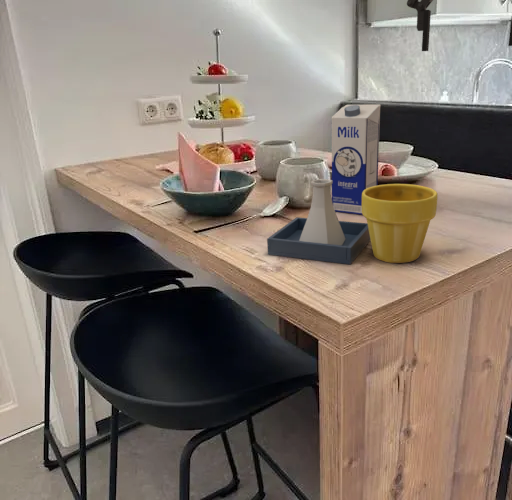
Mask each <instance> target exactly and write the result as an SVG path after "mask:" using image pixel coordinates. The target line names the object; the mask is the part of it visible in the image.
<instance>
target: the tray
mask: <svg viewBox="0 0 512 500" xmlns="http://www.w3.org/2000/svg"><path fill="white" fill-rule="evenodd" d="M306 220H307V217H299V216H297V217H295V218H293V219H292V220H290V222H288V223H286V224H285V225H284V226H282V227H281V228H280V229H278V230H277V231H276V232H274V233H273V234H272V235H270V236H269V237H268V238H266V244H267V255H269V256H277V257H278V256H279V257H287V258H295V259H302V260H311V261H319V262H327V263H335V264H336V263H337V264H343V265H352V263H354V261H355V260H356V259H357V257H358V256H359V255H360V254H361V252H363V250H364V249H365V248H366V246H367V245H368V244H369V242H371V239H370V234H369V229H368V224H367V222H357V221H345V220H338V221H339V223H340V226H341V228H342V231H343V233H344V236H345V241H344V243H343V245H332V244H323V243H314V242H304V241H299V240H300V237H301V234H302V231H303V229H304V226H305V223H306Z"/></svg>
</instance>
